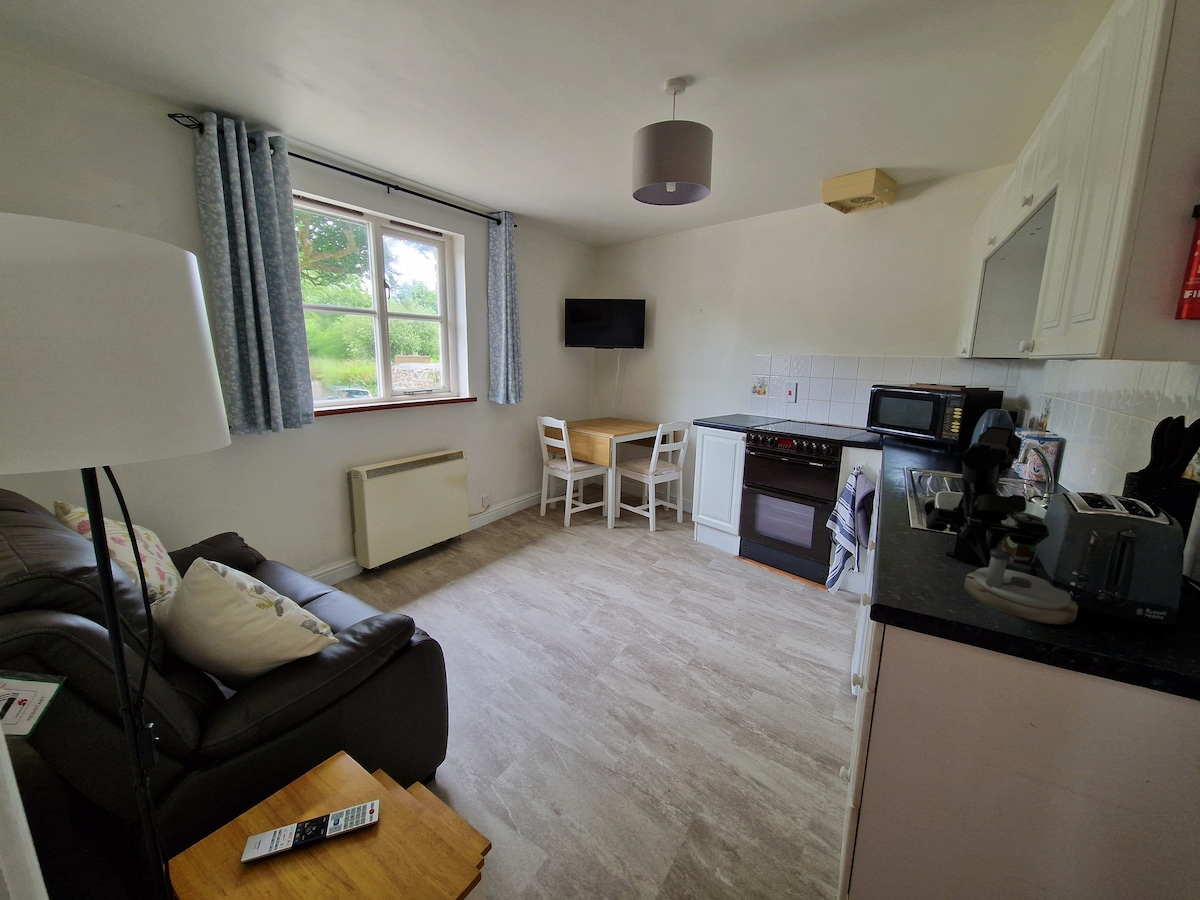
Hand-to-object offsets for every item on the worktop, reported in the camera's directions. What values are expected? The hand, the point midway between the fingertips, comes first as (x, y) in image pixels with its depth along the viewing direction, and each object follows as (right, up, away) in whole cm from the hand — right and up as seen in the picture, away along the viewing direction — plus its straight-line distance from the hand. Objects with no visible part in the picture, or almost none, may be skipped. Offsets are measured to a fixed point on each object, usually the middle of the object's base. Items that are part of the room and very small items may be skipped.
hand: (987, 565), depth 89 cm
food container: (+27, -4, +21) cm, 34 cm away
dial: (+6, -5, 0) cm, 8 cm away
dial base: (+6, -7, +1) cm, 10 cm away
